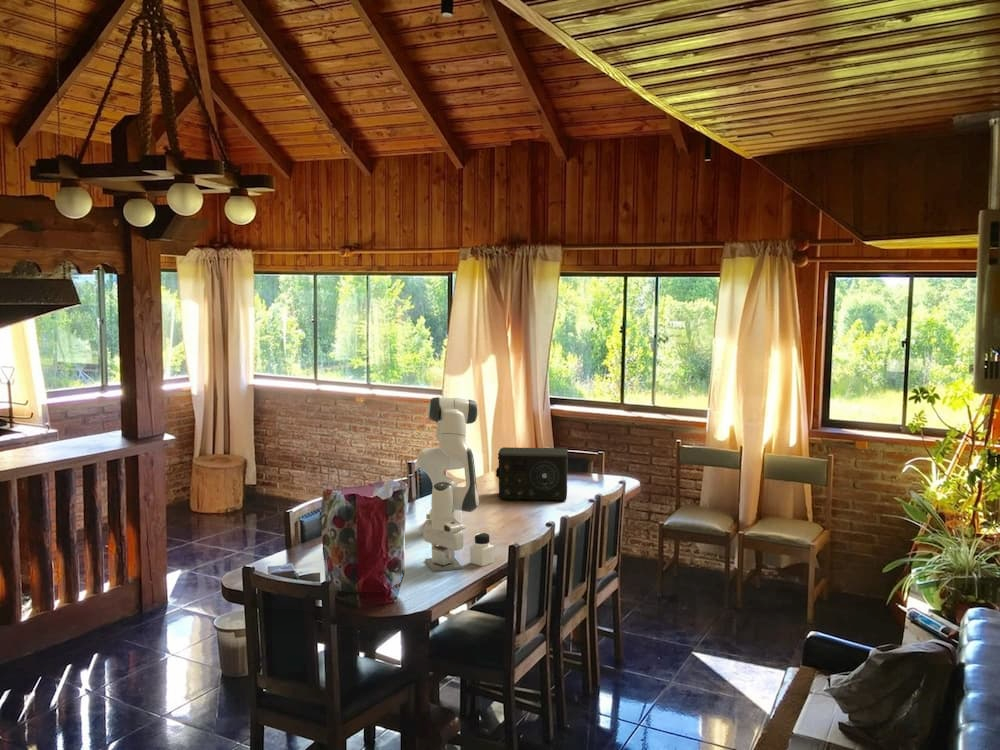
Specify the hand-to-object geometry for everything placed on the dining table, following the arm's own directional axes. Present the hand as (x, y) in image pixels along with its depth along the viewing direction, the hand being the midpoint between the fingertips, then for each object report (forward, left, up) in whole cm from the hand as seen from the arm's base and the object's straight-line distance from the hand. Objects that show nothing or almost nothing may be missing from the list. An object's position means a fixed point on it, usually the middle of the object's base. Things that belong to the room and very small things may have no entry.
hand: (443, 556), depth 354 cm
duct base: (0, 0, -4) cm, 4 cm away
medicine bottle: (+2, +16, -4) cm, 17 cm away
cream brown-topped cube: (0, 0, -2) cm, 2 cm away
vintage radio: (-89, +70, -4) cm, 113 cm away
